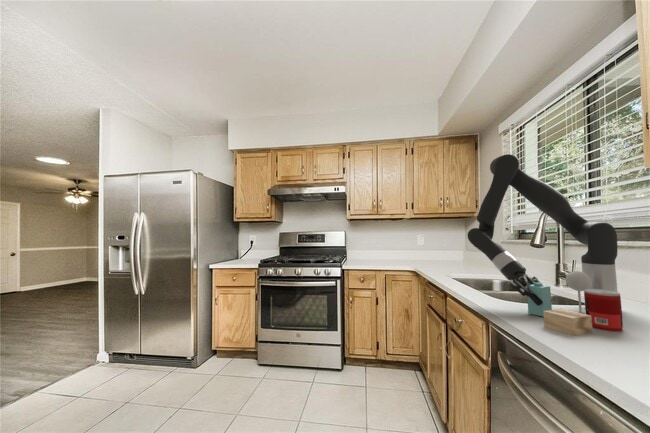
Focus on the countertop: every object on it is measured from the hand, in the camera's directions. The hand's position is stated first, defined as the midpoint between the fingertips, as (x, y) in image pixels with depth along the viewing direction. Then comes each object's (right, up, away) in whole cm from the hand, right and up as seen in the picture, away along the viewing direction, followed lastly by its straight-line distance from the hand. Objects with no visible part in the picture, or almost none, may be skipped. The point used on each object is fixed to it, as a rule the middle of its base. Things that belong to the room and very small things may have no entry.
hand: (545, 303), depth 96 cm
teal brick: (-1, -4, +1) cm, 5 cm away
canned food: (+9, -4, -12) cm, 15 cm away
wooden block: (-4, -4, -13) cm, 14 cm away
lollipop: (+16, -5, +3) cm, 17 cm away
